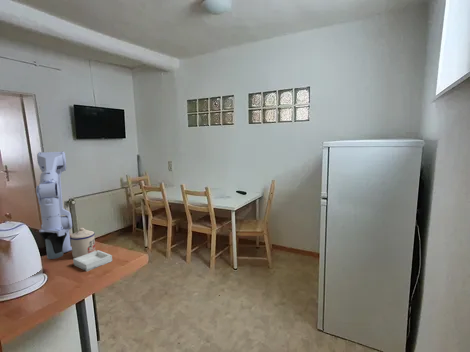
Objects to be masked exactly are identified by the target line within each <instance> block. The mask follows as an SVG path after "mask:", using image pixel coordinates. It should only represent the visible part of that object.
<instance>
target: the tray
mask: <svg viewBox="0 0 470 352" xmlns="http://www.w3.org/2000/svg"><path fill="white" fill-rule="evenodd" d="M72 260H73V266H75V267H77V268H79V269H81V270H83V271H84V272H89V271H91V270H94V269H96V268H99V267H101V266H104V265H106V264H109V263H111V262H113V255H112V254H110V253H107V252H104V251H102V250H98V249H97V250H96V251H94V252H91V253H89V254H86V255H83V256H80V257H77V258H74V257H73V258H72Z"/></svg>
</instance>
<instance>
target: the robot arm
mask: <svg viewBox="0 0 470 352" xmlns="http://www.w3.org/2000/svg"><path fill="white" fill-rule="evenodd" d="M36 157H37V165H38V166H39V169H40V170H41V173H40V177H39V184H38V185H36V188H35V190H36V191H35V192H36V197H37V200H38V205H39V207H40V208H39V209H40V216H41V217H40V218H41V226H40V227H41V228H40V229H39V230H38V232H39V236H40V237H41V238H42V240H43V242H44V244H45V245H46V242H45V239H46V238H49V240H50V241H51V243H52V246H53V250H54V253H55V254H57V253H60V252H62V248H63V254H64V253H67V252H72V245H71V239H70V236H71V234H70V230H72V229H73V220H72V213H71V211H69V210H67V209H65V208H64V204H63V203H64V202H63V190H62V179H61V177H62V174H63V172H65V171H66V170H67V156H66V152H65V151H64V150H63V151H48V152H47V151H44V152H41V151H39V152H37V154H36Z"/></svg>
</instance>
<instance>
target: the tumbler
mask: <svg viewBox="0 0 470 352" xmlns="http://www.w3.org/2000/svg"><path fill="white" fill-rule="evenodd" d="M45 242H46V244H45V247H46V248H45V249H46V250H45V251H46V257H47V259H48V260H54V259H55V260H56V259H59V258H62V257H63V256H64V253H63V248H62V252H60V253H57V254H55V253H54V250H53V246H52V243H51V241H50V240H49V238H46V239H45V241H44V243H45Z"/></svg>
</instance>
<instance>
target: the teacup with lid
mask: <svg viewBox="0 0 470 352" xmlns="http://www.w3.org/2000/svg"><path fill="white" fill-rule="evenodd" d="M70 244H71V247H72V250H71V253H72V257H73V259H74V258H77V257H80V256H83V255H86V254H89V253H91V252H94V251H97V250H96V241H95V231H93V230H88V229H85V227H80V228H79V230H77V231H76V232H73V233H71V234H70Z"/></svg>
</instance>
